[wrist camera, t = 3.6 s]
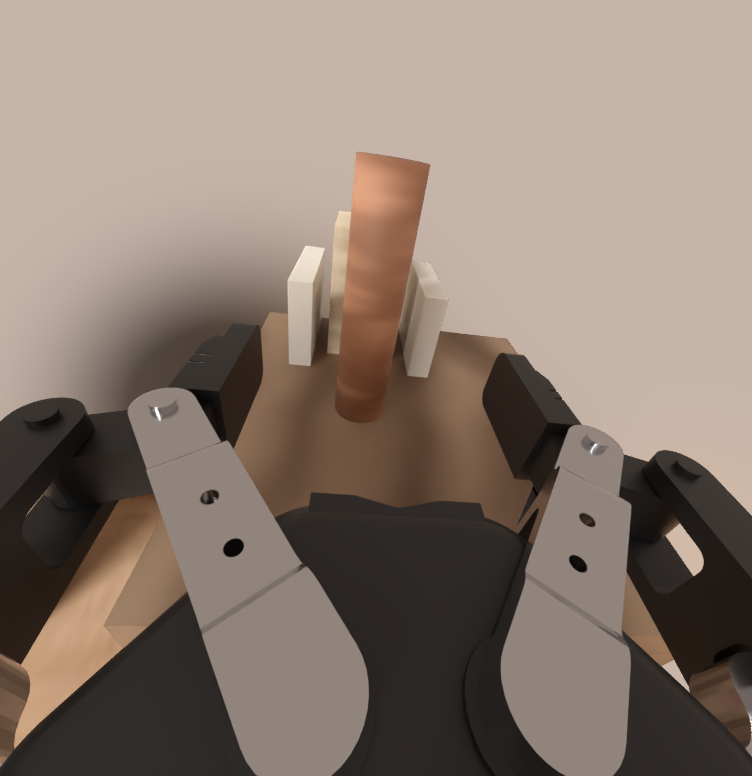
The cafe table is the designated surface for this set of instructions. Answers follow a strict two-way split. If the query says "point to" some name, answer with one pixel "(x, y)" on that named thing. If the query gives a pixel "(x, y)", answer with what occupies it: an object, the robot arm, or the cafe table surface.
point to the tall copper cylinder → (372, 278)
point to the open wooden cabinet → (365, 457)
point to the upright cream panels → (416, 320)
